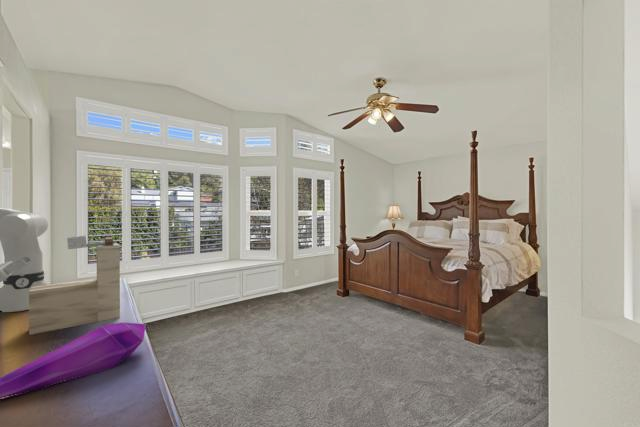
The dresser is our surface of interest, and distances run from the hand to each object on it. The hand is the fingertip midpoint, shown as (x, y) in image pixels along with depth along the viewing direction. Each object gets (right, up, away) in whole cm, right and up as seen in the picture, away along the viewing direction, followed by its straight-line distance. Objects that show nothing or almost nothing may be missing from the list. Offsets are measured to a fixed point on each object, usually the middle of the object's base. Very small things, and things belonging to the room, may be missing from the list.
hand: (27, 260), depth 95 cm
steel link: (+13, +3, +11) cm, 17 cm away
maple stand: (+10, -24, +8) cm, 27 cm away
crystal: (+37, -24, -22) cm, 49 cm away
